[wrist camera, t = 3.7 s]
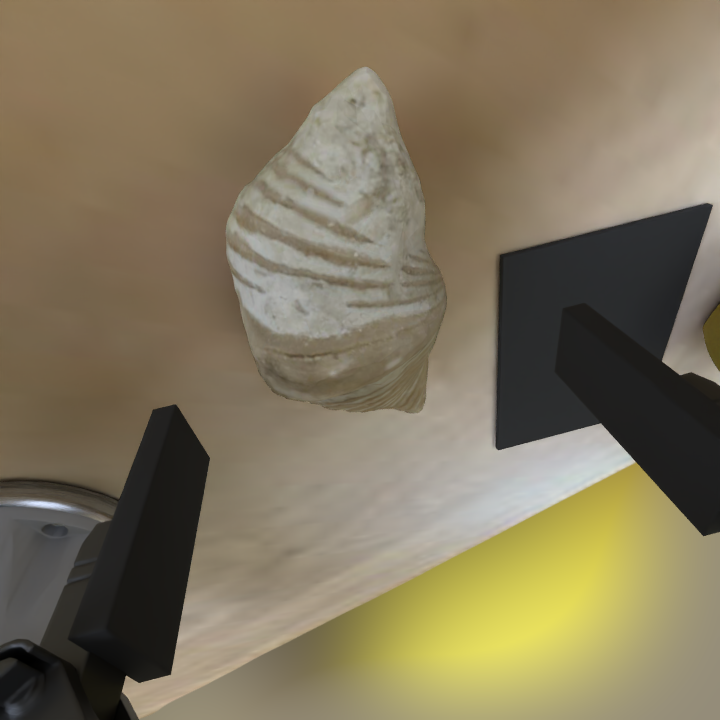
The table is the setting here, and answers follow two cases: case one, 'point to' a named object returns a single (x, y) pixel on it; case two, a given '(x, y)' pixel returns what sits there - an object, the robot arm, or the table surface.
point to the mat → (602, 293)
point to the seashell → (339, 259)
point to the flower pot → (713, 336)
